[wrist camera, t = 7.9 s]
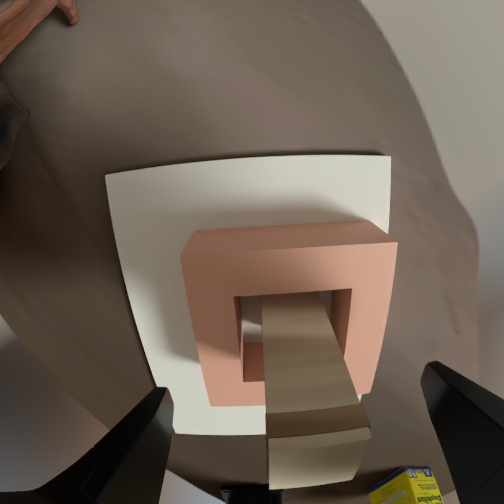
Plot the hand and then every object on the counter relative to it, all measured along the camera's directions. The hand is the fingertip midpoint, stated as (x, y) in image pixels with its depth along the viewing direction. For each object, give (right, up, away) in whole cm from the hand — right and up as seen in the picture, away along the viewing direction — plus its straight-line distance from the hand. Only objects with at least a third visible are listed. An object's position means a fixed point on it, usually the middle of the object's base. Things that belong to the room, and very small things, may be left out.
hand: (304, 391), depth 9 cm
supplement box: (+16, -22, +16) cm, 31 cm away
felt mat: (-1, 0, +7) cm, 7 cm away
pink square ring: (0, +2, +6) cm, 6 cm away
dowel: (0, +2, +6) cm, 6 cm away
